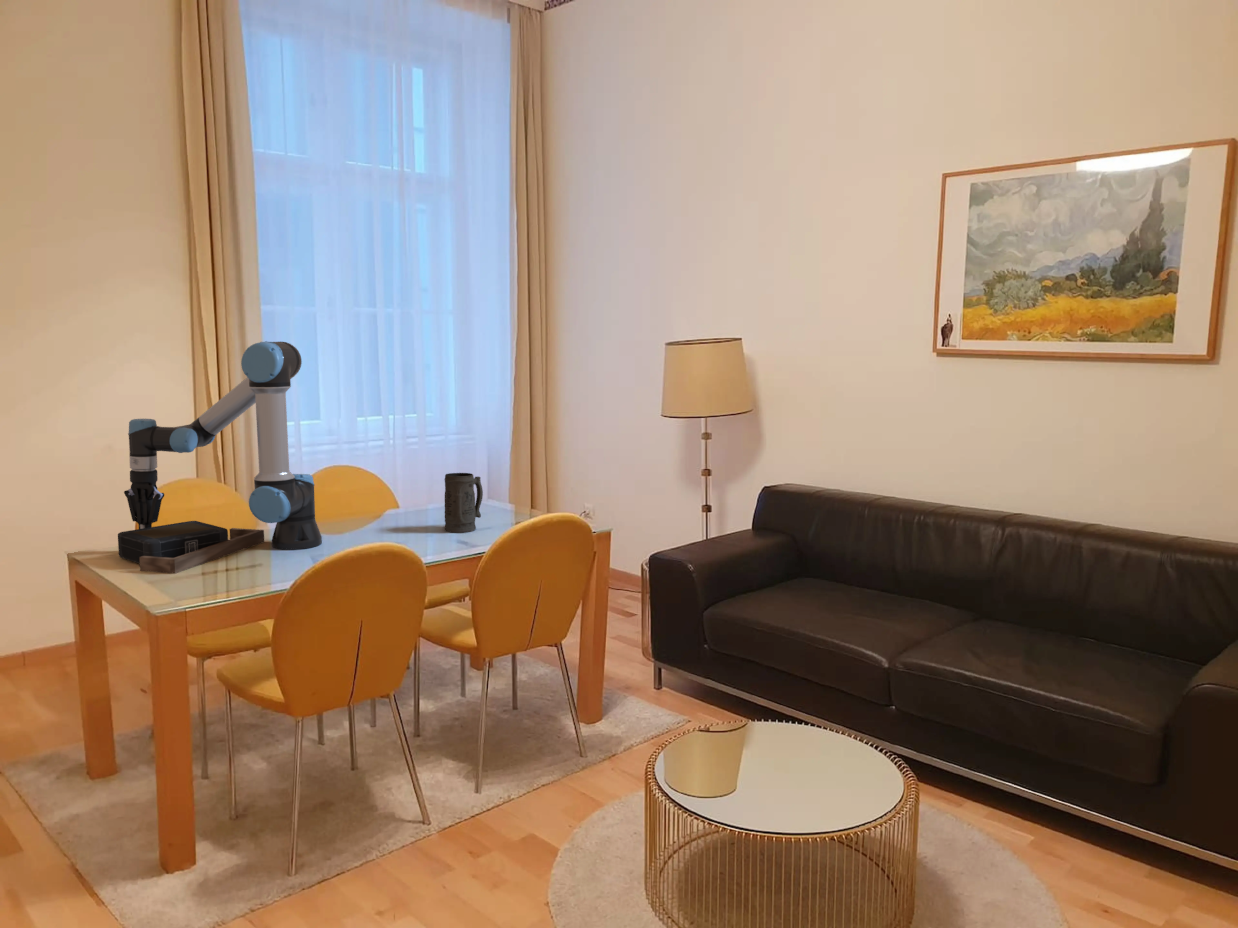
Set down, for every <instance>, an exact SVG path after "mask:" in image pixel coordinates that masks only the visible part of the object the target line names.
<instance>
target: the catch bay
mask: <svg viewBox="0 0 1238 928" xmlns="http://www.w3.org/2000/svg"><path fill="white" fill-rule="evenodd" d="M262 543H263V544H264V543H265V529H255V528H254V529H252V528H238V527H237V528H236V527H232V528H229V539H228V540H227V541H224V542H221V543H218V544H214V545H211V546H208V547H205V548H202V549H199V550H196V551H193V552H190V553H187V554H184V555H181V556H178V557H175V558H167V557H153V556H141V557H139V558H140V564H139V569H140V571H141V572H152V573H165V574H166V573H167V574H177V573H182V572H184V571H186V570H190V569H191V568H195V567H198V566H200V565H205V563H209V562H212V561H215V560H217V559H220V558H223V557H225V556H228V555H232V554H235V553H237V552H240V551H243V550H247V549H248V548H252V547H254V546H257V545H260V544H262Z"/></svg>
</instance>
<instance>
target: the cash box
mask: <svg viewBox="0 0 1238 928" xmlns="http://www.w3.org/2000/svg"><path fill="white" fill-rule="evenodd" d="M227 540H229V534H228V529H227V528H226V527H223V526H222V527H221V526H218V525H214V524H210V523H206V522H202V521H197V520H188V521H182V522H177V523H175V522H174V523H169V524H163V525H157V526H152V527H149V528H143V529H139V528H138V529H131V530H124V531H121V532H118V534H117V549H118V557H119V558H120V559H125V560H127V561H131V562H133V563H135V564H139V565H140V558H139V557H141V556H153V557H167V558H175V557H178V556H181V555H184V554H187V553H190V552H193V551H196V550H199V549H202V548H205V547H208V546H211V545H214V544H218V543H221V542H224V541H227Z"/></svg>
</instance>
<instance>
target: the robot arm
mask: <svg viewBox="0 0 1238 928" xmlns="http://www.w3.org/2000/svg"><path fill="white" fill-rule="evenodd" d="M240 360H241V361H240V363H241V364H240V367H241V370H242V371H243V372H242V373H243V374H244V375H245V376H246V378H245V379H244V380H242V381H241V382H239V383H238V384H237V385H236V386H235V387H234V388H233V389H231V390H230V391H229V392H227V393H226V394H225V395H223V397H221V398H220V399H218V401H217V402H215V403H214V404H212V406H211V407H209V408H208V409H207V410H206V411H205V412H203V413H202V414H201V415H199V417H198V418H196V419H194V421H192V422H191V423H190V424H185V425H179V426H173V427H171V426H158V425H157V421H156V419H152V418H133V419H131V420H130V421H129V422H128V433H127V434H128V446H129V449H128V450H129V468H130V469H131V470H130V471H129V482H130V483H131V484H130V488H128V489H126V490H124V491H123V493H124V495H125V497H126V500H127V504H128V508H129V512H130V516H131V520H132V522H136V523H137V524H138V529H143V528H149V527H153V526H152V525H153V524H154V523H157V522H158V519H159V515H160V510H161V505H162V500H163V499H164V497H165V493H164V492H160V491H159V490H158V486H157V482H158V480H159V479H158V470H157V468H158V452H169V453H171V452H172V453H178V454H183V453H185V454H187V453H192V452H194V450H195V449H197V448H203V447H205V446H208V445H210V444H211V443H213V442H214V440H215V438H216V436H217V435H218V434H219V433H220V432H221V431H223V430H224V429H225V428H226V427H228V426H229V425H231V423H233V422H234V421H235V420H236V419H238V418H239V417H240V416H241V415H243V414H244V413H245V412H246V411H248V410H249V409H250V408H251V407H253V405H255V414H256V415H255V416H256V419H255V420H256V435H257V456H258V458H257V459H258V474H256V476H255V477H254V478H253V480H254V482H253V485H254V489H253V490H252V492H251V493H250V495H249V498H248V507H249V510H250V512H251V513H252V515H253V516H254V517H255V518H256V519H257V520H259V521H261V522H263V523H265V524H275V528H274V530H273V535H272V538H271V546H272V548H274V549H278V550H303V549H311V548H314V547H317V546H320V545H322V543H323V540H322V537H323V536H322V534H321V531H320V528H319V526H318V524H317V521H316V509H315V508H316V507H315V506H316V505H315V503H316V502H315V483H314V481H315V480H314V477H313V476H312V474H308V473H292V472H291V471H290V460H289V459H290V458H289V437H288V436H289V435H288V418H287V417H288V415H287V414H288V413H287V412H288V411H287V397H286V396H287V392H288V390H289V389H291V387H292V385H291V384H292V383H291V379H293V378H294V377H295V376H296V375H298V374H299V371H300V370H301V367H302V364H303V363H302V362H303V361H302V356H301V353H300V351H299V350H298V349H297V347H296V346H294V345H293V344H292V343H290V342H286V341H267V340H266V341H260V342H255V343H253V344H252V345H250V346H248V347H247V349H245V351H244V352H243V354H242V357H241V359H240Z"/></svg>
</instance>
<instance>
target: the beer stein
mask: <svg viewBox="0 0 1238 928" xmlns="http://www.w3.org/2000/svg"><path fill="white" fill-rule="evenodd" d="M482 485H483V484H482V483H481V477H480V476H475V477H474V474H473V473H470V472H453V473H452V472H451V473H449V472H448V473H446V474H445V475H444V523H445V524H444V531H445V532H448V533H454V534H461V533H465V534H466V533H471V532H474V531H475V530H477V527H476V518H478V519H479V518H481V516H482V515H481V512H480V507H481V504H482V501H483V496H484V494H483V493H484V492H483V491H484V490H483V486H482ZM474 486H475V487H476V493H475V487H474Z"/></svg>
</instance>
